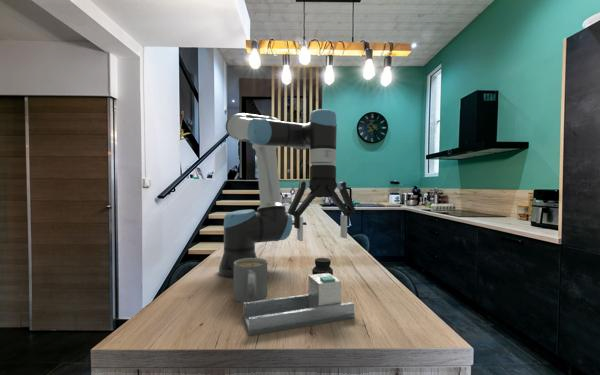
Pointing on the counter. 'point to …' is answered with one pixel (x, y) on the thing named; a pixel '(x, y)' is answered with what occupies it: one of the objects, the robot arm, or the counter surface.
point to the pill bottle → (322, 266)
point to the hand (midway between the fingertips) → (322, 238)
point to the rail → (299, 308)
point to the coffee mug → (250, 279)
